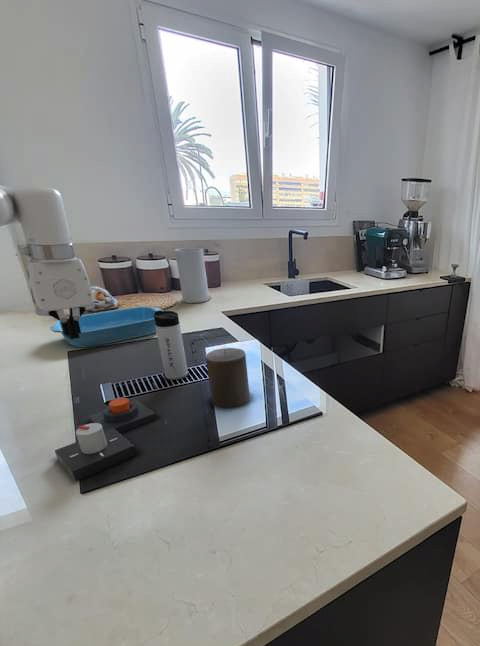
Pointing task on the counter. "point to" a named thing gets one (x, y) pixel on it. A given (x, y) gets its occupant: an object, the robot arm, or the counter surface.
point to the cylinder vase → (192, 275)
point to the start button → (119, 405)
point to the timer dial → (91, 438)
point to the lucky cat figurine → (102, 299)
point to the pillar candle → (228, 377)
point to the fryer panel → (95, 456)
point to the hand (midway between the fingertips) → (73, 337)
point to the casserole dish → (112, 326)
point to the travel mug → (171, 344)
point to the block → (124, 417)
